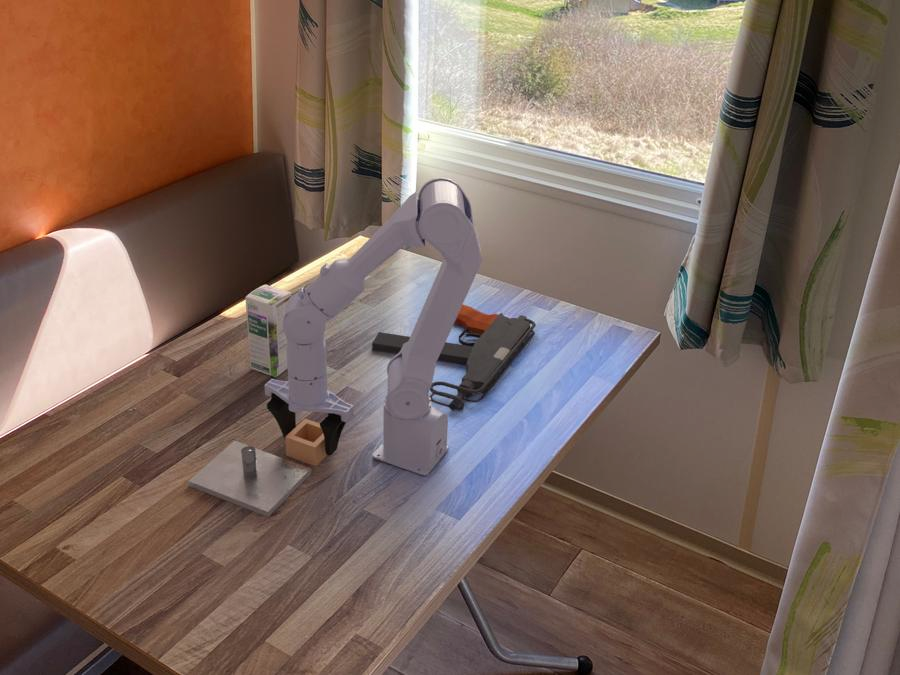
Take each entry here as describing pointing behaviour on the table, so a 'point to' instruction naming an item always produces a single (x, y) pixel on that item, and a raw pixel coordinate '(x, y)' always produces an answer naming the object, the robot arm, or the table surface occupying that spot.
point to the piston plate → (250, 478)
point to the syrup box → (267, 329)
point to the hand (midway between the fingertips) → (310, 444)
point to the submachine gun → (473, 351)
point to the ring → (306, 443)
